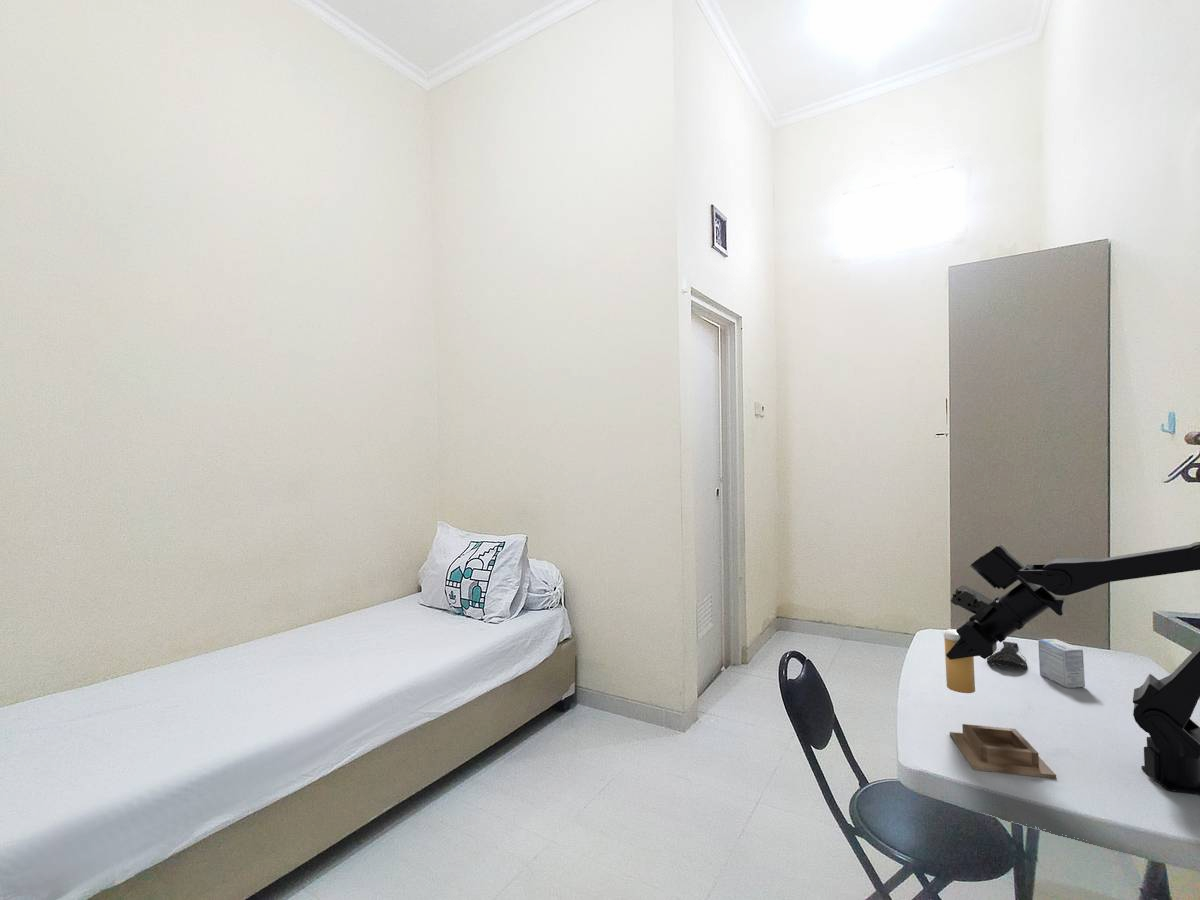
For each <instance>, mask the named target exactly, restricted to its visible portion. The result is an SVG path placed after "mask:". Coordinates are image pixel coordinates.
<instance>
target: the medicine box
mask: <svg viewBox="0 0 1200 900" xmlns="http://www.w3.org/2000/svg"><path fill="white" fill-rule="evenodd" d="M1037 641H1038V642H1037V643H1038V659H1039V660H1038V661H1039V675H1040V676H1042V677H1045V679H1048V680H1050V681H1052V682H1055V683H1056V684H1058V685H1061V686H1063V687H1065V688H1067V689H1075V688H1076V687H1084V688H1085V687H1086V683H1085V682H1086V681H1085V663H1084V660H1085V659H1084V651H1083V649H1081V648H1079V647H1077V646H1074V645H1073V644H1069V643H1067V642H1065V641H1062V640H1059V639H1058V638H1057V639H1056V638H1042V639H1038V640H1037ZM1076 689H1077V688H1076Z"/></svg>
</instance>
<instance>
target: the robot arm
mask: <svg viewBox="0 0 1200 900" xmlns="http://www.w3.org/2000/svg"><path fill="white" fill-rule="evenodd" d="M969 567H970V568H971V570H973V571H974V572H975V573H976V574H977V575H979V576H980V577H981V578H982V579H983V580H984V581H985V582H986V583H987V584H988V585H990V586H991V587H992V588H993V589H998V590H1000V589H1002V590H1003V591H1005V590H1006V589H1007V588H1009V587H1011V586H1012V585H1013V584H1014V583H1016V582H1017V581H1019V582H1020V583H1019V584H1017V585H1015V586H1014V587H1013V588H1011V590H1009V591H1007V592H1006V593H1005V594H1003V595H1002V596H1000V597H999V596H996V597H995V598H994V599H991V598H989V597H988V596H986V595H985V594H982V593H981V592H978V591H977V590H975V589H972V588H971V587H969V586H966V585H964V584H959V586H957V588H955V591H954V593H953V594H952V597H951V599H950V600H949V601H950V603H951V604H953V605H955V606H958V607H960V608H963V609H964V610H966V611H968V612H970V613H972V614H973V615H971V616H970V617H969V618H968V619H969V620H967V621H966V622H964V623H963V624H962V625H960V626H959V627H958V628H957V629H955V630H956V632H957V633H958V635H959V636H960V639H959V640H958V641H957V643H956V644H955V645H954V646H953V647H952V648H951V650H950V651H949V652H948V653H947V654H946V656H947V657H948V658H949V659H950V660H952V659H959V658H966V657H981V658H982V659H984V660H987V658H988V657H990V656H991V655H993V654H995V653H996V652H997V651H996V650H998V647H997V646H998V644H997V642H999V643H1003V641H1005V640H1006V639H1007V637H1009V636H1011V635H1012V634H1014V632H1016V631H1020V630H1022V628H1024V627H1025V625H1026V624H1028V623H1029V622H1030V621H1032V620H1033V619H1035V618H1037V617H1038V616H1040V615H1042V614H1043V613H1044V612H1046V611H1047V610H1048V609H1051V611H1053V612H1054V613H1055V614H1056V615H1058V616H1063V614H1064V613H1065V611H1066V610H1065V602H1066V599H1065V598H1064V597H1063V596H1066V597H1067V596H1070V595H1073V594H1077V593H1081V592H1084V591H1087V590H1091V589H1093V588H1096V587H1098V586H1099V587H1100V586H1101V585H1106V584H1108V583H1113V582H1121V581H1128V580H1135V579H1142V578H1149V577H1151V578H1152V577H1157V576H1165V575H1173V574H1180V573H1186V572H1193V571H1195V572H1196V571H1200V541H1195V542H1192V543H1191V544H1186V545H1180V546H1173V547H1168V548H1161V549H1153V550H1148V551H1142V552H1141V551H1140V552H1136V553H1129V554H1123V555H1116V556H1111V557H1104V558H1103V557H1100V558H1090V557H1089V558H1086V557H1066V558H1065V557H1064V558H1063V557H1062V558H1054V559H1051V560H1050V561H1048V562H1046V563H1036V564H1035V563H1030V564H1022V563H1021V562H1020V561H1019V560H1017V559H1016V558H1015V557H1014V556H1013V555H1012V554H1011V553H1009V552H1008V550H1007V549H1006V548H1005V547H1004V546H1003V545H1001V544H998V545H996V546H995V547H993V548H992V549H991V550H989V552H986V553H984V554H983V555H982V556H980V557H979V558H977V559H976V560H975V561H973V562H972V563H971V564H970V565H969ZM1057 596H1062V597H1057ZM1132 696H1133V697H1132V703H1133V713H1132V716H1133V717H1134V721H1135V723H1136V724H1137V725H1138V726H1139V728H1140V729H1142V730H1143V731H1144V732H1145V733H1148V735H1149V736H1146V746H1144V747H1143V764H1144V765H1141V770H1142V771H1143V772H1144V773H1146V774H1147V775H1148V776H1149V777H1150V778H1152V779H1153V780H1154V781H1155V782H1157V783H1158V784H1159V785H1160V786H1162V787H1163V788H1164V789H1165V790H1168V791H1171V792H1180V793H1190V794H1199V795H1200V726H1199V725H1198V724H1197V723H1196V722H1195V721H1193V719H1191V717H1192V715H1193V713H1194V710H1195V708H1196V706H1197V704H1198V701H1199V699H1200V644H1199V645H1198V646H1197V647H1196V648H1195V649H1193V651H1192V652H1191V653H1190V654H1189V655H1188V656H1187V657H1185V659H1184V660H1183V661H1182V663H1180V664H1179V665H1178V667H1177V668H1176V669H1175V670H1174V671H1172V673H1171V674H1169V675H1167V676H1165V677H1163V678H1161V679H1158V678H1157V677H1155V676H1154V675H1153V674H1151V673H1149V674H1148V676H1147V677H1146V679H1145V680H1144V682H1143V684H1142V685H1140V686H1139V687H1137V688H1134V690H1133V695H1132Z"/></svg>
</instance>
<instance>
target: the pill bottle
mask: <svg viewBox="0 0 1200 900" xmlns="http://www.w3.org/2000/svg"><path fill="white" fill-rule="evenodd" d="M956 630H957V629H955V628H954V629H953V628H952V629H944V630H943V638H944V656H945V659H944V660H945V677H946V678H945V679H946V681H945V682H946V688H947V689H949V690H950V691H953V692H955V693H960V694H973V693H975V692H976V682H975V681H976V680H975V661H974V660H975V659H974V657H975V656H974V657H966V658H959V659H952V660H950V659H949V658H948V657H947V656H946V654H947V653H948V652H949V651H950V650H951V648H952V647H953V646H954V645H955V644H956V643H957V641H958V640H959V639H960V636H959V635H958V633H957V632H956Z"/></svg>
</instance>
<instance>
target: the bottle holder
mask: <svg viewBox="0 0 1200 900" xmlns="http://www.w3.org/2000/svg"><path fill="white" fill-rule="evenodd" d="M949 736H950V737H951V739H952V741H953V740H954V741H953V743H955V745H956V746H957V748H958V749H959V751H960V752H961V753H962V755H963V757H964V756H965V760H966V761H967V763H968V764H969V766H971V768H972V769H973V770H974V771H975V770H976V771H983V772H993V773H1000V774H1002V773H1003V774H1011V775H1020V776H1027V777H1028V776H1031V777H1036V778H1037V777H1038V778H1039V777H1040V778H1046V779H1047V777H1048V779H1055V778H1056V779H1057V774H1056V773H1055V772H1054V771H1053V770H1052V769H1051V768H1050V767H1049V765H1047V763H1046V762H1045V761H1044V760H1043V759H1042V758H1041V757H1040V756H1039V752H1038V751H1037V750H1036V749H1035V747H1033V746H1032V745H1031V744H1030V743H1029V741H1027V740H1026V738H1025V737H1024V736H1023V735H1022V734H1021V733H1020V732H1019V731H1018V730H1017V728H1011V727H1010V728H1009V727H998V726H988V725H978V724H977V725H976V724H967V723H966V724H965V723H962V732H952V731H950V732H949Z"/></svg>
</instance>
